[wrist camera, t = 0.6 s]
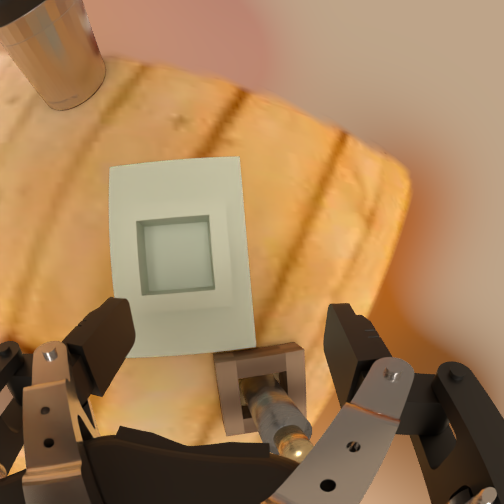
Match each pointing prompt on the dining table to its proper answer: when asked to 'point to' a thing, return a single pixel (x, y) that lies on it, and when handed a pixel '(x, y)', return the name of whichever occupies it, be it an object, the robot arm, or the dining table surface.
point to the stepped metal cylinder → (277, 417)
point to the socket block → (255, 364)
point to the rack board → (182, 255)
